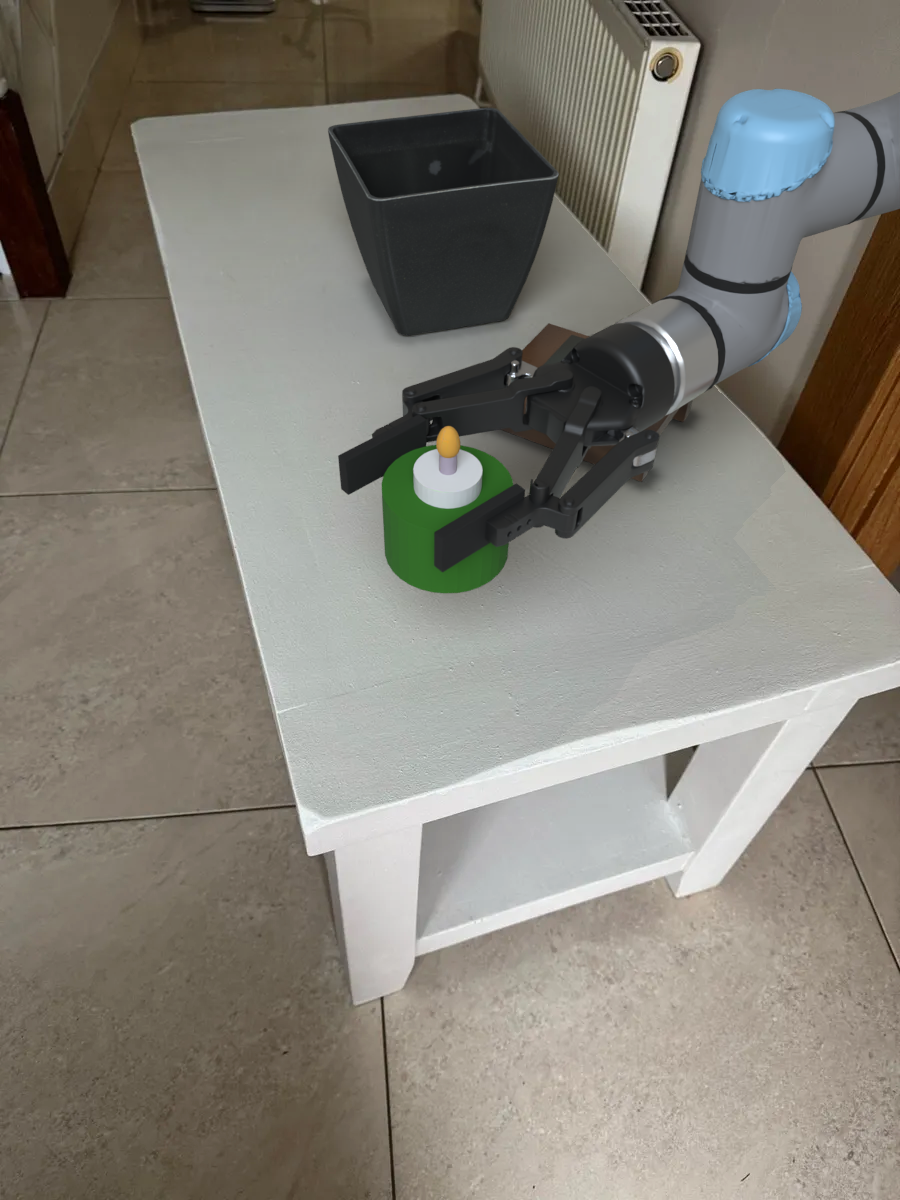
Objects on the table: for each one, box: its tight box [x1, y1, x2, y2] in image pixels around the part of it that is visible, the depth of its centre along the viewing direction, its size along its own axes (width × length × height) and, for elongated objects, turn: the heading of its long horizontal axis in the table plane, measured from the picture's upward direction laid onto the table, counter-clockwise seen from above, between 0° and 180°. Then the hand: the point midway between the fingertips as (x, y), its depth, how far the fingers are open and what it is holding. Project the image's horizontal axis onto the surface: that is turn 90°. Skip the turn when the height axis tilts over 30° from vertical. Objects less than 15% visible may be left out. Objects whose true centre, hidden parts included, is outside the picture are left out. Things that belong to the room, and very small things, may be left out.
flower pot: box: [327, 107, 560, 336], centre depth 99 cm, size 19×19×17 cm
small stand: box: [500, 322, 693, 483], centre depth 89 cm, size 16×12×5 cm
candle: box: [381, 426, 514, 594], centre depth 59 cm, size 8×8×10 cm
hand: (389, 512), depth 56 cm, fingers closed on candle, 8 cm apart
